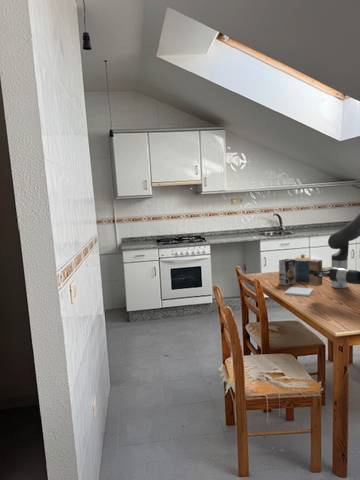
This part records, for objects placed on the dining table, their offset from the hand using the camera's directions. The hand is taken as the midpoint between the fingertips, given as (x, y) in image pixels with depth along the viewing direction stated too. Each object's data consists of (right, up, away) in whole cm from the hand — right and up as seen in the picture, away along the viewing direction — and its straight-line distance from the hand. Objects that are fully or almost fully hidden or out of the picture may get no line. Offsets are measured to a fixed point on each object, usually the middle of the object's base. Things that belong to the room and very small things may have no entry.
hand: (311, 271), depth 211 cm
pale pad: (-2, -14, +16) cm, 22 cm away
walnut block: (+2, -8, -1) cm, 8 cm away
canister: (+11, -10, +48) cm, 50 cm away
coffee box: (-3, -12, +38) cm, 40 cm away
